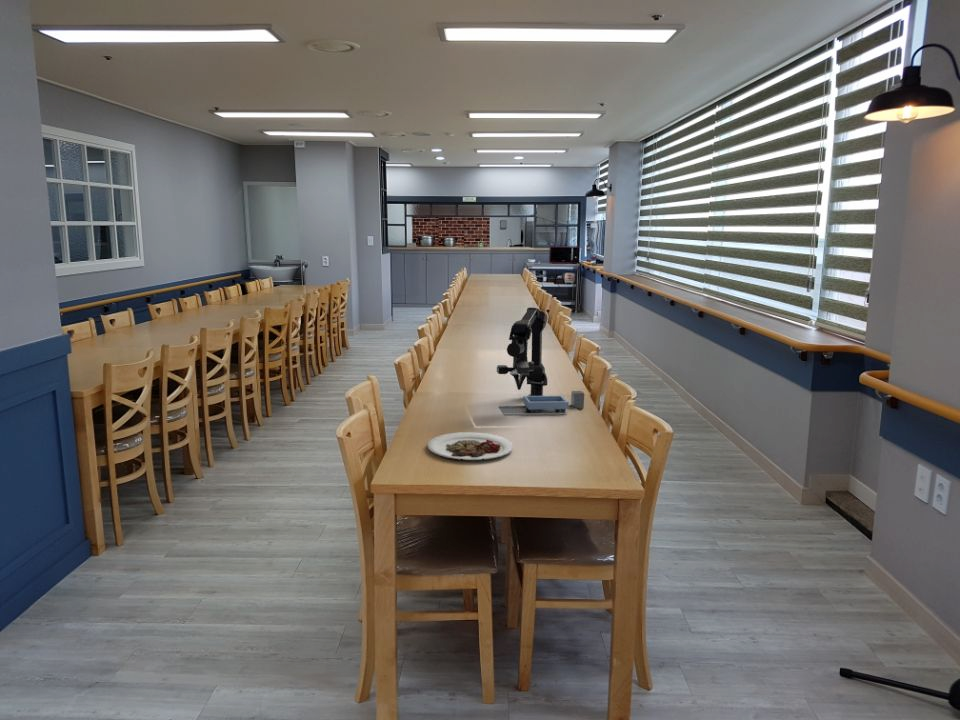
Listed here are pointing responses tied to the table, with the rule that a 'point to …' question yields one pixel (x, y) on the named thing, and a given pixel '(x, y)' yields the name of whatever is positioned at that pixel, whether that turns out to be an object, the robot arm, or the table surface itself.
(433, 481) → the table surface
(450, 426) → the table surface
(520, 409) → the track
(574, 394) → the steel block
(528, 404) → the cart
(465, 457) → the plated food
